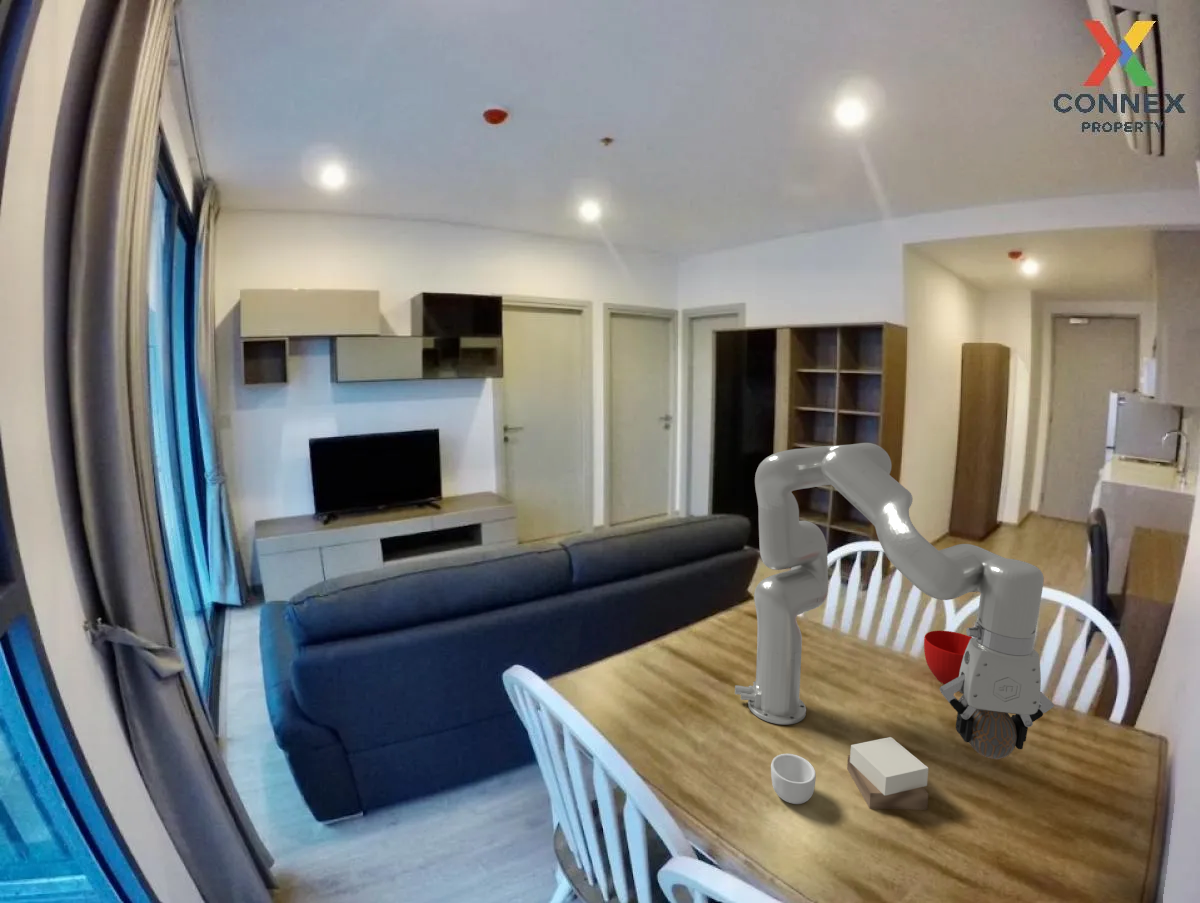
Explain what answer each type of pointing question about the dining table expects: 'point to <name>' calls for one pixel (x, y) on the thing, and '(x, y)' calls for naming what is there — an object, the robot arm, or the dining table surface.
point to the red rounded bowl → (945, 653)
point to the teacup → (793, 778)
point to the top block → (888, 766)
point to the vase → (993, 733)
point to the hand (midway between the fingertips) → (989, 739)
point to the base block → (893, 801)
